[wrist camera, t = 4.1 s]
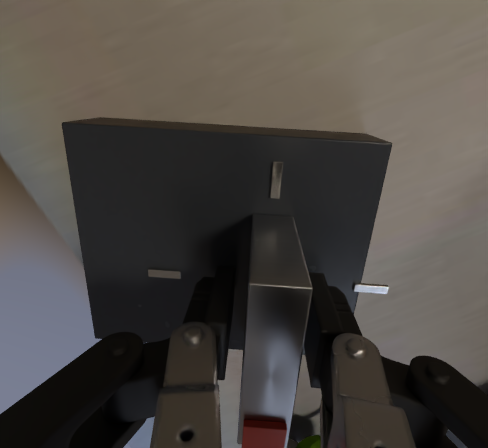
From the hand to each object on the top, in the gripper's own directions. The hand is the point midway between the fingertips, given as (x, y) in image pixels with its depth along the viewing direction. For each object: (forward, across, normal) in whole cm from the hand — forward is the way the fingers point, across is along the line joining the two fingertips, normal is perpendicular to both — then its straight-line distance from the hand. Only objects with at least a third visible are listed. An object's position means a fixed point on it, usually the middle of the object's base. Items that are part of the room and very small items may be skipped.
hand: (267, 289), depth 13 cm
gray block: (+1, 0, 0) cm, 1 cm away
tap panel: (+4, +2, -1) cm, 4 cm away
